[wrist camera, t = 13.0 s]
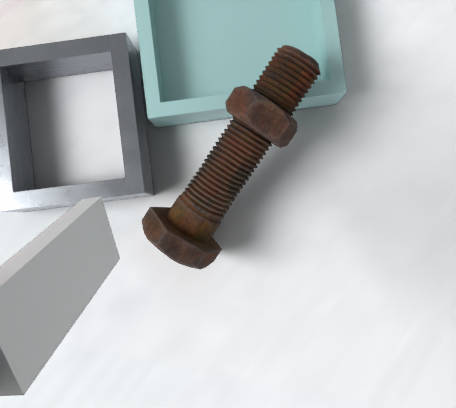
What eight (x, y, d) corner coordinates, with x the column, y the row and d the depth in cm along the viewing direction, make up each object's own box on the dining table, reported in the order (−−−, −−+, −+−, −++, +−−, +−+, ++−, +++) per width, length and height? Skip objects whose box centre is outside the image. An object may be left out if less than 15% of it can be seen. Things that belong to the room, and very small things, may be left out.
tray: (314, -60, 29) (322, -89, 27) (336, 104, 29) (346, 92, 26) (137, -35, 30) (126, -61, 27) (156, 127, 29) (147, 118, 26)
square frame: (137, 51, 29) (125, 32, 26) (154, 195, 29) (144, 193, 26) (7, 68, 30) (-19, 52, 27) (22, 212, 29) (-2, 211, 26)
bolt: (259, 15, 22) (126, 225, 24) (333, 56, 20) (183, 275, 23) (279, 55, 27) (169, 223, 30) (338, 90, 26) (217, 263, 28)
